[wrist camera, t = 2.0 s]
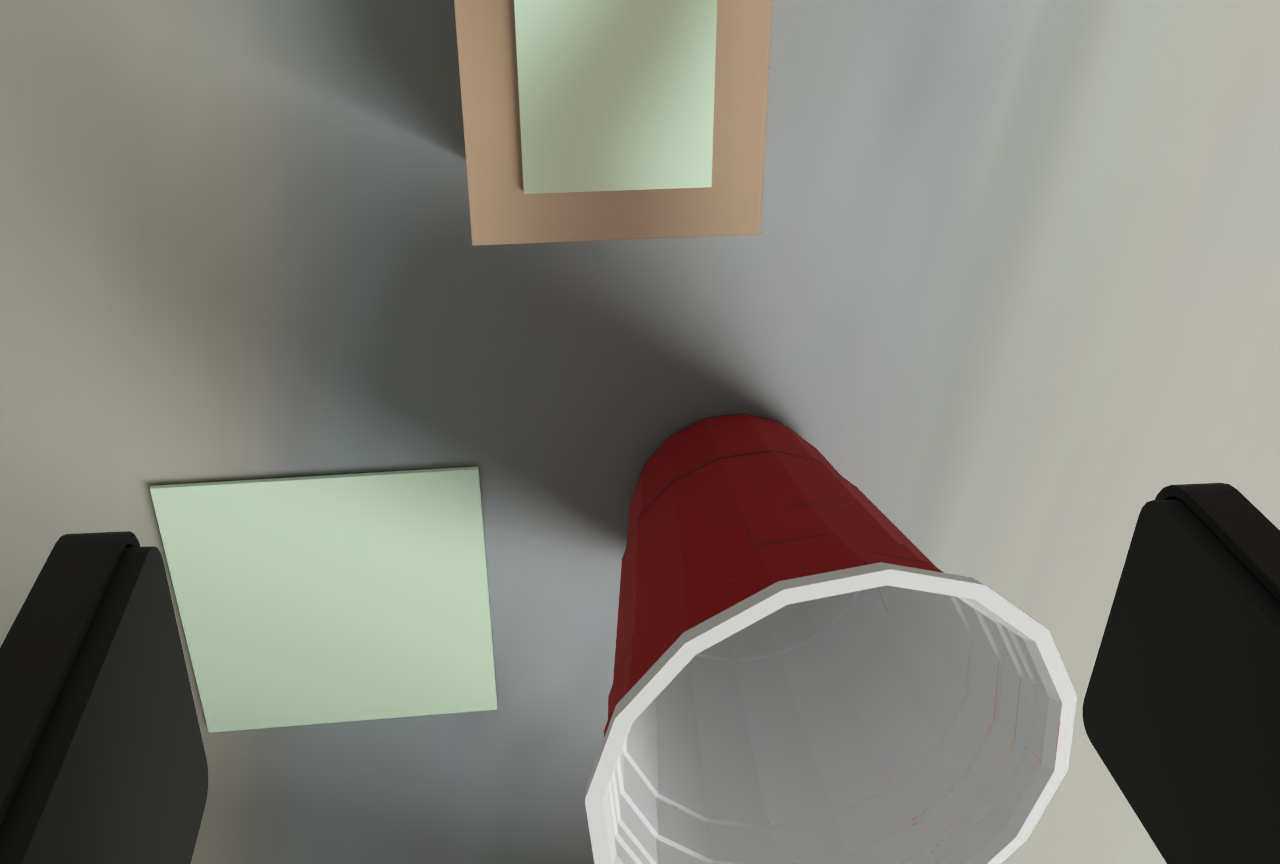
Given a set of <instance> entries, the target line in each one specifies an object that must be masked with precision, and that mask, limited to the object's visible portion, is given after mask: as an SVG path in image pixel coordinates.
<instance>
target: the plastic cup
mask: <svg viewBox="0 0 1280 864" xmlns="http://www.w3.org/2000/svg"><path fill="white" fill-rule="evenodd" d="M1076 702H1077V695H1076V693H1075V690H1074V688H1073V686H1072V683H1071V681H1070V679H1069V676H1068V674H1067V671H1066V669H1065V667H1064V664H1063V662H1062V660H1061V657H1060V655H1059V653H1058V650H1057V648H1056V646H1055V643H1054V641H1053V638H1052V636H1051V634H1050V631H1049V630H1047V629H1046V628H1044V627H1043V626H1042V625H1040V624H1039V623H1037V622H1036V621H1035V620H1033V619H1032V618H1030V617H1029V616H1028V615H1026V614H1025V613H1023V612H1022V611H1021V610H1019V609H1018V608H1016V607H1015V606H1013V605H1012V604H1011V603H1009V602H1008V601H1006V600H1005V599H1004V598H1002V597H1001V596H999V595H998V594H997V593H995V592H994V591H992V590H991V589H990V588H988V587H987V586H985V585H984V584H982V583H980V582H978V581H977V580H975V579H973V578H970V577H964V576H959V575H953V574H947V573H943V572H942V571H941V570H939V569H938V568H937V567H936V566H935V565H934V564H933V563H932V562H931V561H930V560H929V559H928V558H927V557H926V556H925V555H924V554H923V553H922V552H921V551H920V550H919V549H918V548H917V547H916V546H915V545H914V544H913V543H912V542H911V541H910V540H909V539H908V538H907V537H906V536H905V535H904V534H903V533H902V532H901V531H900V530H899V529H898V528H897V527H896V526H895V525H894V524H893V523H892V522H891V521H890V520H889V519H888V518H887V517H886V516H885V515H884V514H883V513H882V512H881V511H880V510H879V509H878V508H877V507H876V506H875V505H874V504H873V503H872V502H871V501H870V500H869V499H868V498H867V497H866V496H865V495H864V494H863V493H862V492H861V491H860V490H859V489H858V488H857V487H856V486H854V485H853V484H851V483H850V482H849V481H847V480H846V479H845V478H843V477H842V476H841V475H840V474H839V473H838V472H837V471H836V470H835V469H834V467H833V466H832V465H831V464H830V463H829V462H828V461H827V460H826V459H825V458H824V456H823V455H822V454H821V453H820V452H819V451H818V450H817V449H816V448H815V447H813V446H812V445H811V444H809V443H808V442H807V441H805V440H804V439H803V438H801V437H800V436H799V435H797V434H796V433H794V432H793V431H792V430H790V429H789V428H788V427H784V426H783V425H782V424H780V423H779V422H777V421H772V420H768V419H764V418H759V417H755V416H751V415H746V414H736V415H729V416H721V417H713V418H706V419H703V420H701V421H699V422H697V423H695V424H693V425H691V426H689V427H687V428H685V429H683V430H681V431H679V432H678V433H676V434H674V435H672V436H670V437H669V438H668V439H667V440H666V441H665V443H664V444H663V445H662V446H661V447H660V448H659V449H658V450H657V451H656V452H655V453H654V454H653V456H652V457H651V458H650V459H649V460H648V461H647V462H646V464H645V466H644V469H643V472H642V474H641V477H640V480H639V482H638V485H637V488H636V491H635V493H634V496H633V499H632V502H631V504H630V511H629V524H628V538H627V547H626V550H625V553H624V556H623V558H622V568H621V582H620V596H619V610H618V624H617V638H616V651H615V665H614V679H613V686H612V688H611V691H610V694H609V701H608V722H607V724H606V727H605V730H604V739H603V742H602V745H601V748H600V750H599V753H598V756H597V758H596V761H595V764H594V766H593V769H592V772H591V775H590V777H589V780H588V783H587V788H586V795H585V805H586V812H587V818H588V825H589V832H590V838H591V845H592V851H593V858H594V864H1001V863H1002V862H1003V861H1004V860H1005V859H1006V858H1007V857H1009V856H1010V855H1011V854H1012V853H1013V852H1014V851H1015V850H1016V849H1017V848H1018V847H1020V846H1021V845H1022V844H1023V843H1024V842H1025V841H1026V840H1027V839H1028V837H1029V836H1030V834H1031V832H1032V831H1033V829H1034V827H1035V825H1036V824H1037V822H1038V820H1039V819H1040V817H1041V815H1042V813H1043V812H1044V810H1045V808H1046V807H1047V805H1048V803H1049V801H1050V800H1051V798H1052V796H1053V794H1054V793H1055V791H1056V789H1057V788H1058V786H1059V784H1060V782H1061V781H1062V779H1063V777H1064V776H1065V774H1066V772H1067V770H1068V766H1069V758H1070V750H1071V742H1072V734H1073V726H1074V718H1075V710H1076Z"/></svg>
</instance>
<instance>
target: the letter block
mask: <svg viewBox="0 0 1280 864" xmlns="http://www.w3.org/2000/svg"><path fill="white" fill-rule="evenodd" d="M772 2H773V0H454V6H455V19H456V32H457V46H458V59H459V73H460V86H461V99H462V113H463V126H464V140H465V153H466V166H467V180H468V193H469V207H470V220H471V233H472V246H476V245H501V244H526V243H551V242H576V241H601V240H626V239H651V238H676V237H701V236H726V235H751V234H760V232H761V213H762V194H763V175H764V156H765V136H766V117H767V98H768V79H769V60H770V41H771V21H772Z"/></svg>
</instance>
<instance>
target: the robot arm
mask: <svg viewBox="0 0 1280 864" xmlns="http://www.w3.org/2000/svg"><path fill="white" fill-rule="evenodd" d="M1083 721H1084V726H1085V729H1086V733H1087V735H1088V737H1089V739H1090V741H1091V743H1092V745H1093V746H1094V748H1095V749H1096V751H1097V753H1098V754H1099V756H1100V757H1101V759H1102V760H1103V762H1104V764H1105V765H1106V767H1107V768H1108V770H1109V772H1110V773H1111V775H1112V776H1113V778H1114V780H1115V781H1116V783H1117V784H1118V786H1119V788H1120V789H1121V791H1122V792H1123V794H1124V796H1125V797H1126V799H1127V800H1128V802H1129V804H1130V805H1131V807H1132V808H1133V810H1134V812H1135V813H1136V815H1137V816H1138V818H1139V820H1140V821H1141V823H1142V824H1143V826H1144V828H1145V829H1146V831H1147V832H1148V834H1149V835H1150V837H1151V839H1152V840H1153V842H1154V843H1155V845H1156V847H1157V848H1158V850H1159V851H1160V853H1161V855H1162V856H1163V858H1164V859H1165V861H1166V863H1167V864H1280V530H1279V529H1277V528H1276V527H1275V526H1274V525H1273V524H1272V523H1271V522H1270V521H1269V520H1268V519H1267V518H1266V517H1265V516H1264V515H1263V514H1262V513H1261V512H1260V511H1259V510H1258V509H1257V508H1256V507H1255V506H1254V505H1252V504H1251V503H1250V502H1249V501H1248V500H1247V499H1246V498H1245V497H1244V496H1243V495H1242V494H1241V493H1240V492H1239V491H1238V490H1237V489H1235V488H1234V487H1232V486H1231V485H1229V484H1224V483H1208V484H1186V485H1170V486H1167V487H1165V488H1163V489H1162V490H1161V491H1160V492H1159V493H1158V494H1157V497H1156V499H1155V500H1153V501H1150V502H1147V503H1146V504H1145V505H1144V506H1143V507H1142V510H1141V512H1140V514H1139V517H1138V521H1137V524H1136V527H1135V531H1134V534H1133V537H1132V541H1131V544H1130V548H1129V551H1128V554H1127V558H1126V561H1125V564H1124V568H1123V571H1122V574H1121V578H1120V581H1119V584H1118V588H1117V591H1116V594H1115V598H1114V601H1113V605H1112V608H1111V611H1110V615H1109V618H1108V621H1107V625H1106V628H1105V631H1104V635H1103V638H1102V641H1101V645H1100V648H1099V652H1098V655H1097V658H1096V662H1095V665H1094V668H1093V672H1092V675H1091V678H1090V682H1089V685H1088V688H1087V692H1086V695H1085V698H1084V703H1083ZM207 790H208V767H207V761H206V756H205V751H204V747H203V742H202V738H201V733H200V728H199V724H198V719H197V715H196V710H195V705H194V701H193V696H192V692H191V687H190V683H189V678H188V673H187V669H186V664H185V660H184V655H183V650H182V646H181V641H180V637H179V632H178V627H177V623H176V618H175V614H174V609H173V605H172V600H171V595H170V591H169V586H168V582H167V577H166V572H165V568H164V563H163V559H162V556H161V553H160V551H159V550H158V548H156V547H140V544H139V541H138V539H137V538H136V536H135V534H133V533H132V532H130V531H128V532H106V533H83V534H66V535H63V536H61V537H60V538H59V540H58V541H57V542H56V544H55V546H54V548H53V549H52V551H51V553H50V555H49V557H48V559H47V561H46V563H45V565H44V566H43V568H42V570H41V572H40V574H39V576H38V578H37V580H36V582H35V583H34V585H33V587H32V589H31V591H30V593H29V595H28V597H27V599H26V600H25V602H24V604H23V606H22V608H21V610H20V612H19V614H18V615H17V617H16V619H15V621H14V623H13V625H12V627H11V629H10V631H9V632H8V634H7V636H6V638H5V640H4V642H3V644H2V646H1V648H0V864H190V863H191V859H192V855H193V851H194V848H195V844H196V840H197V836H198V832H199V828H200V824H201V820H202V816H203V812H204V808H205V804H206V799H207Z"/></svg>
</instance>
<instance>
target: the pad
mask: <svg viewBox="0 0 1280 864" xmlns="http://www.w3.org/2000/svg"><path fill="white" fill-rule="evenodd" d="M150 492H151V496H152V500H153V504H154V508H155V512H156V517H157V521H158V525H159V529H160V533H161V537H162V541H163V545H164V550H165V554H166V558H167V562H168V566H169V570H170V574H171V579H172V583H173V587H174V591H175V595H176V599H177V603H178V607H179V612H180V616H181V620H182V624H183V628H184V632H185V636H186V640H187V645H188V649H189V653H190V657H191V661H192V665H193V669H194V673H195V678H196V682H197V686H198V690H199V694H200V698H201V702H202V706H203V711H204V715H205V719H206V723H207V727H208V731H209V733H211V732H224V731H236V730H249V729H261V728H273V727H286V726H298V725H311V724H323V723H336V722H348V721H360V720H373V719H385V718H398V717H410V716H422V715H435V714H447V713H460V712H472V711H485V710H497V695H496V683H495V670H494V657H493V645H492V632H491V619H490V607H489V594H488V581H487V569H486V556H485V543H484V531H483V518H482V505H481V493H480V480H479V467H478V466H477V467H460V468H443V469H426V470H409V471H392V472H375V473H358V474H341V475H324V476H308V477H291V478H274V479H257V480H240V481H223V482H206V483H189V484H172V485H155V486H151V487H150Z"/></svg>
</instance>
